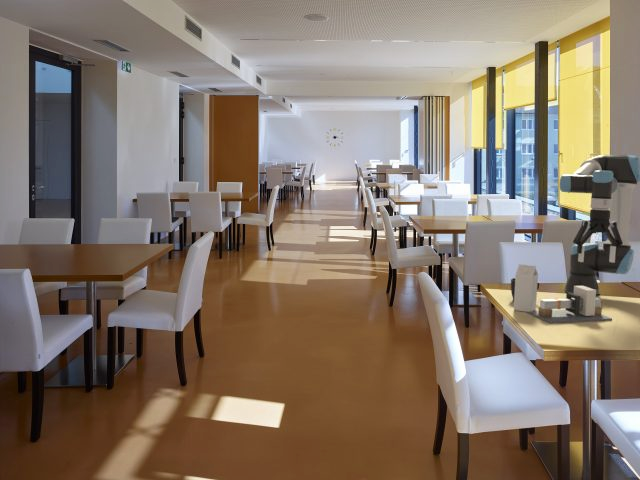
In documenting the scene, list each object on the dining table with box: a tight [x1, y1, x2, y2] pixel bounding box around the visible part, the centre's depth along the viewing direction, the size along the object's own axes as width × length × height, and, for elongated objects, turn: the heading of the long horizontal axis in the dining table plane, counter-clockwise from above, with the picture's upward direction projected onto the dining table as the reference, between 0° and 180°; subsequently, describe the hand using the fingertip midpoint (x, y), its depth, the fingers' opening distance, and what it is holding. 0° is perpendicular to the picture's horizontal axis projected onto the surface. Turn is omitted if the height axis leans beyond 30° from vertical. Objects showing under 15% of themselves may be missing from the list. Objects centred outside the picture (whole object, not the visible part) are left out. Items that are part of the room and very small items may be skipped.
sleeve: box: [573, 286, 597, 316], centre depth 276 cm, size 4×9×10 cm, turn 13°
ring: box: [564, 292, 580, 314], centre depth 275 cm, size 2×7×7 cm, turn 13°
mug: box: [510, 277, 540, 302], centre depth 302 cm, size 8×12×10 cm
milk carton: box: [513, 263, 539, 313], centre depth 285 cm, size 7×7×19 cm
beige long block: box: [538, 296, 603, 318], centre depth 275 cm, size 25×5×7 cm, turn 103°
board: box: [528, 309, 613, 324], centre depth 275 cm, size 27×16×1 cm, turn 103°
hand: (596, 262), depth 277 cm, fingers open, 13 cm apart
